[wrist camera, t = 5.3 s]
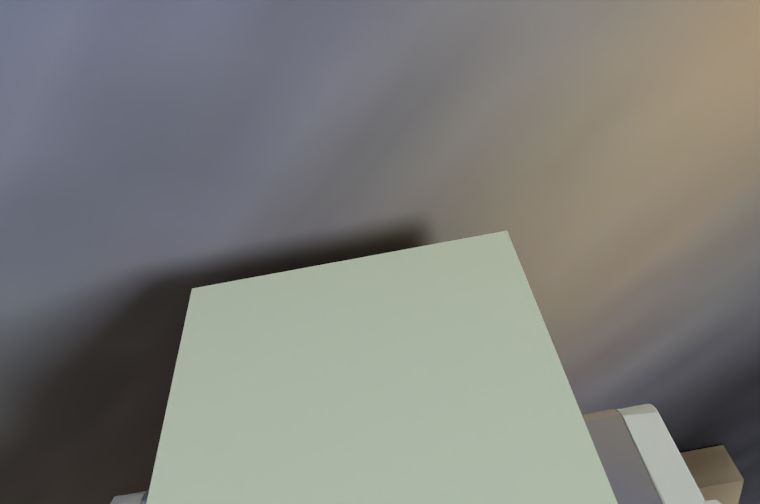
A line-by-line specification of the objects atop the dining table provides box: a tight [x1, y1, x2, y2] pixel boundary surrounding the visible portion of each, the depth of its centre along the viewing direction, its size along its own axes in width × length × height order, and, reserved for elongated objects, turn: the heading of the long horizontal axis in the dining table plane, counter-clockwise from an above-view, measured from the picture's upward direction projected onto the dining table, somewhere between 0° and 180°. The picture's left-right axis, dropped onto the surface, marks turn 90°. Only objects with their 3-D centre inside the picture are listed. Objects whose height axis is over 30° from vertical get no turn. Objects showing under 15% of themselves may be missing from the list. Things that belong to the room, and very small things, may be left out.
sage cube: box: [146, 231, 618, 504], centre depth 10 cm, size 5×5×5 cm
